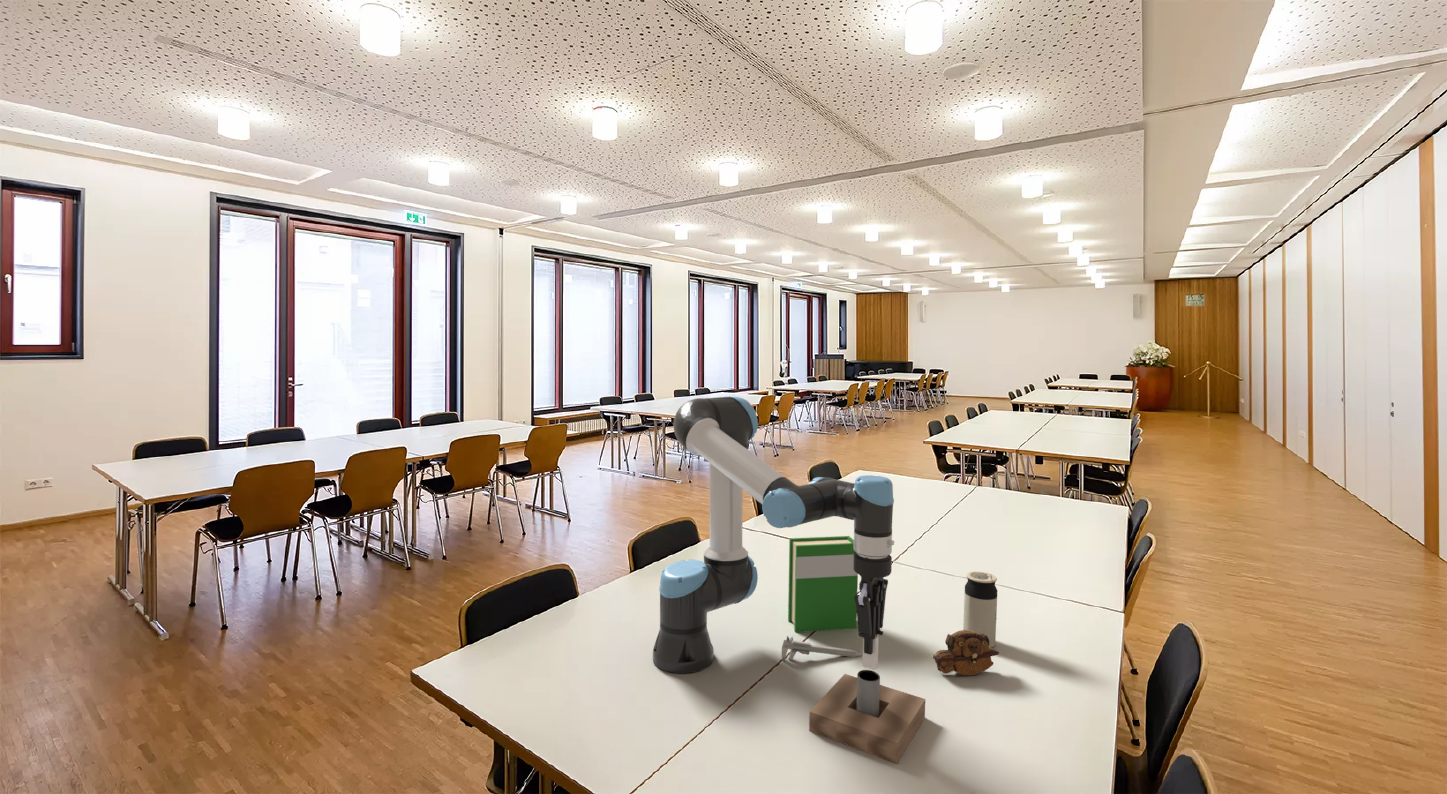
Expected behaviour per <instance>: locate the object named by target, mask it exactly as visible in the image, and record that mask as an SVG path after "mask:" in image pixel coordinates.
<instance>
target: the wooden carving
mask: <svg viewBox="0 0 1447 794" xmlns="http://www.w3.org/2000/svg"><path fill="white" fill-rule="evenodd" d="M945 645H946V646H947V649H940V650H937V651H936V652H935V653H934V654H932V659H933V660H934V661H935V662H934V663H936V667H937V670H938V671H939V672H940V673H942V674H944V675H947V674H950V673H953V672H955V673H957V674H959V675H963V676H974V675H977V674H981V673H983V672H986V671H987V670H988V669H990V668H991V667H992V666H993V665H994V661H993V660H992V657H995V656H998V655H1000V651H998V650H996V649H995V648H993V647H991V648H989V638H988V637H987V635H984V633H977V632H974V631H970V630H963V629H962V630H958V631H956V632H955V631H954V633H952V634H949V633H947V635H946V638H945Z"/></svg>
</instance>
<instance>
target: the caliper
mask: <svg viewBox="0 0 1447 794" xmlns="http://www.w3.org/2000/svg"><path fill="white" fill-rule="evenodd" d="M788 650H790V651H789V654H788V661H790V662H792V661H793V659H794V657H795V656H796V654H797V652H798V653H800V654H802V655H808V656H809V655H810V653H817V654H825V655H835V656H842V657H848V658H849V657H850V658H853V657H858V656H859V657H861V656H862V654H861V653H859V652H857V651H856V650H855V649H848V648H842V647H833V646H827V645H826V646H824V645H817V644H811V643H810V642H806V641H798V640H794V637H793V636H791V637H789V636H788V635H787V636H786V639H783V642H782V646H781V660H782V661H783V662H785V660H786V657H787V653H788Z"/></svg>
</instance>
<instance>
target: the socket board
mask: <svg viewBox="0 0 1447 794" xmlns="http://www.w3.org/2000/svg"><path fill="white" fill-rule="evenodd" d="M856 709H857V677H856V676H853V675H850V674H847V673H844V674H843V675H842V676H841V677H840V678H839V679H838V681H836V682H835V684H834V685H832V687H831V688H830V689H829V690H828V691H827V692H825V694H824V695H823V696H822V697H821V698H820V699H819V701H818V702H817V703H816V704H815V705H814V706H813V707H812V708H811V709H810V710H809V718H808V719H809V721H808V725H809V726H808V730H809V731H810V732H812V733H815V734H817V735H820V736H822V737H825V738H828V739H830V740H833V741H836V742H838V743H841V744H844V745H846V746H849V747H851V748H854V749H856V750H859V751H862V752H865V753H866V754H869V755H872V756H875V757H877V758H880V759H883V760H886V761H888V762H891V763H894V764H898V763H899V761H900V760H901V758H902V756H903V754H904V753H905V751H906V750H907V749H908V746H909V745H910V743H911V741H912V740H913V738H914V736H915V735H916V733H917V731H918V730H919V728H920V727H921V725H922V723H923V722H924V719H925V717H926V698H923V697H920V696H917V695H914V694H910V693H907V692H905V691H901V690H898V689H895V688H892V687H888V686H885V685H881V684H880V697H879V718H877V717H874V716H871V715H868V714H865V713H862V712H859V711H857V710H856Z"/></svg>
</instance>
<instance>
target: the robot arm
mask: <svg viewBox="0 0 1447 794" xmlns="http://www.w3.org/2000/svg"><path fill="white" fill-rule="evenodd" d="M758 424H759V421H758V417H757V412H756V411H755V409H754V407H753V406H752V405H751V403H750V402H749V401H748V400H746V399H745V398H742V397H739V396H718V397H706V398H704V397H702V398H701V397H700V398H693V399H690V400H687V402H685V403H683V404H682V405H681V406H680V407H679V408H678V410H677V411H676V413H675V416H674V418H673V432H674V435H675V437H676V440H677V441H678V443H679V444H680V445H681V446H682V447H683V448H684V449H685V450H687V451H688V452H689V453H690V454H692V455H693V456H694V455H695V456H701V457H702V458H703V459H705V460H706V461H707V462H708V463H709V464H708V465H709V546H708V547H707V548H706V549H705V550H704V552H703V561H702V560H700V559H699V560H698V559H688V560H685V559H682V560H678V561H675V562H673V563H671V564H668V565H667V566H666V567H665V568H663V570H662V571H661V574H660V581H659V587H658V588H659V629H658V630H659V631H658V633H657V637H656V639H655V642H654V646H653V649H652V662H653V664H654V666H655V667H657V668H658V669H660V670H662V671H664V672H669V673H674V674H689V673H690V674H691V673H695V672H699V671H702V670H704V669H706V668H708V667H709V666H710V665H712V663H713V662H714V649H715V648H714V646H713V643H712V641H711V637H710V634H709V631H708V627H707V626H708V625H707V624H708V613H709V612H712V611H716V610H719V609H721V608H724V607H727V606H731V605H736V604H739V603H740V602H742V601H744V600H746V599H749V598H750V597H751V596H752V595H753V593H754V592H755V591H756V588H757V585H758V579H759V578H758V576H759V575H758V569H757V567H756V566H755V562H754V560H753V559H752V558H751V557H750V556H749V551H748V550H747V549H746V548H745V547H744V546H743V491H745V492H746V493H747V494H748V495H750V496H751V497H752V498H754V499H755V501H757V502H758V503H759V504H761V505H762V507H761V508H762V513H763V516H764V517H765V518H766V522H767V523H768V524H769V525H770V526H772V527H774V528H776V529H783V528H784V529H785V528H794V527H797V526H800V525H803V524H807V523H810V522H811V523H812V522H815V521H819V520H823V519H827V518H828V519H829V518H832V517H838V518H843V519H846V520H852V521H853V540H854V547H853V549H854V551H855V553H854V561H853V569H854V571H855V572H856V573H857V574H858V576H860V581H859V584H858V585H859V586H858V589H859V592H860V593H859V594H858V593H857V594H856V595H855V597H854V599H855V603H856V608H857V631H858V637H860V638H862V667H864V668H868V669H869V670H873V671H876V670H877V668H878V667H879V636H883V635H884V631H883V630H881V629H882V628H883V626H884V616H885V607H886V606H885V604H886V597H887V596H886V595H887V589H888V584H889V580H888V579H886V577H888V576H890V575H891V574H892V566H893V565H892V564H893V563H892V561H893V557H892V556H891V554H892V549H893V548H892V547H893V546H894V545H895V540H893V513H894V512H893V511H894V504H895V498H894V486H893V485H894V484H893V482H892V480H891V479H889V478H888V477H885V476H880V475H872V474H871V475H869V474H868V475H867V474H866V475H860V476H857V477H856V478H855V481H854V482H849V481H844V480H840V479H835V478H832V477H821V476H817V477H814V478H813V479H811V481H809V482H808V484H802V485H798V484H796V483H794V482H793V481H792V480H790V479H788V478H787V477H786V476H784V475H783V474H781V472H779V471H777V470H776V469H775V468H774V467H772V466H771V465H769V464H768V463H766V461H764V460H763V459H761V458H760V457H758V455H756V454H754V453H753V452H751V451H750V450H749V441H750V440H752V439H753V438H754V437H755V435H756V434H757V432H758V427H759V426H758Z"/></svg>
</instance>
